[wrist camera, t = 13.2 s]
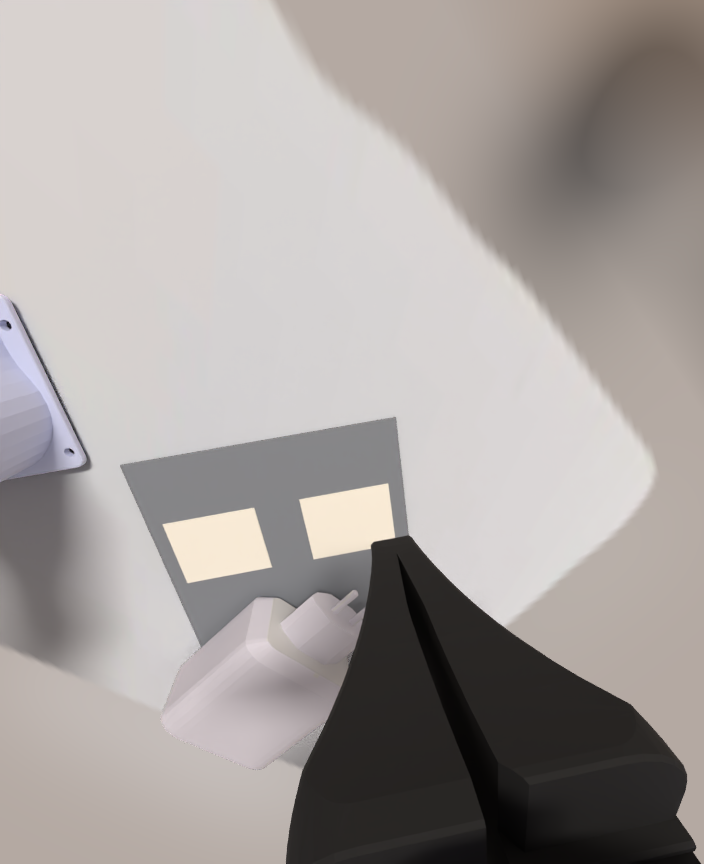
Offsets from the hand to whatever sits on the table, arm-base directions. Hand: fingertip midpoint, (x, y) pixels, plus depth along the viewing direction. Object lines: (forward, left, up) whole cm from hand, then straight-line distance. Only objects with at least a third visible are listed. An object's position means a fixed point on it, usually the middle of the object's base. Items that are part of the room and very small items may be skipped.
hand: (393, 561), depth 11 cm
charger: (+14, -7, -10) cm, 19 cm away
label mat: (+8, -6, -10) cm, 14 cm away
